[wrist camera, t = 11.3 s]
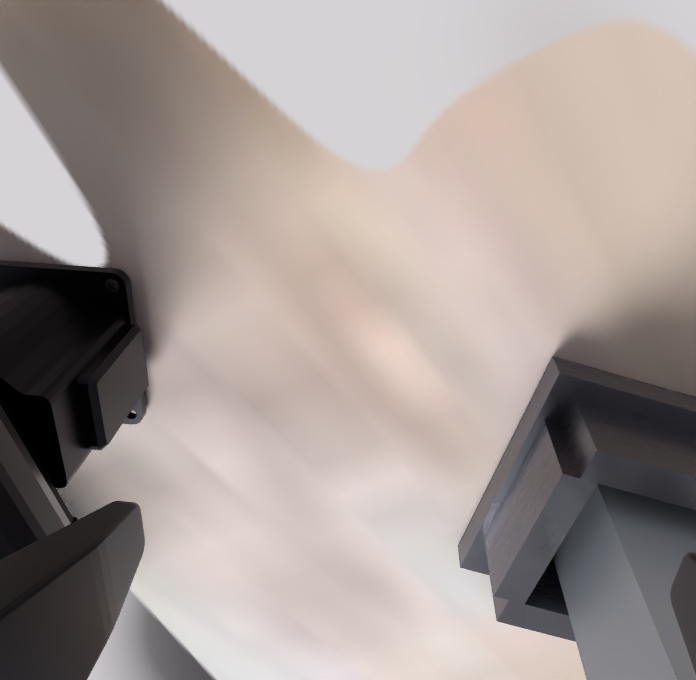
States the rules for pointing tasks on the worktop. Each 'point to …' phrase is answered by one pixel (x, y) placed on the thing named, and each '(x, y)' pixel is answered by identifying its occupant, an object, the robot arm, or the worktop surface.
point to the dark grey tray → (573, 480)
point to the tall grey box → (626, 585)
